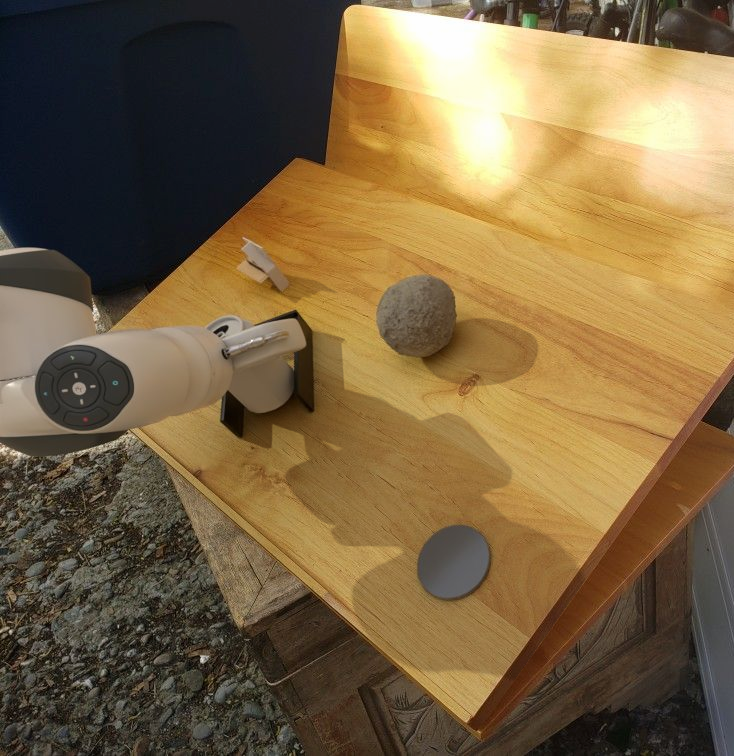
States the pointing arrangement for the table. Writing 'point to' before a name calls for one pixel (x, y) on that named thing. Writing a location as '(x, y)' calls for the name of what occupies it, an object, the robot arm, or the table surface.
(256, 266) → the architectural model
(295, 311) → the frame
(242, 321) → the can
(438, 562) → the coaster
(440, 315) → the decorative stone
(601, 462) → the table surface
